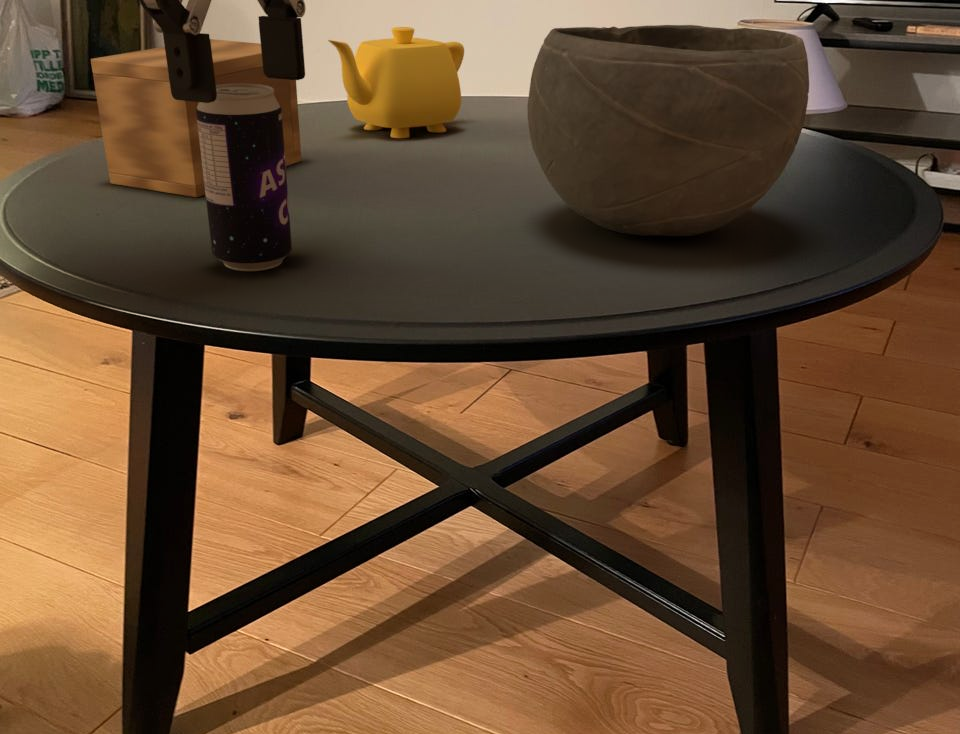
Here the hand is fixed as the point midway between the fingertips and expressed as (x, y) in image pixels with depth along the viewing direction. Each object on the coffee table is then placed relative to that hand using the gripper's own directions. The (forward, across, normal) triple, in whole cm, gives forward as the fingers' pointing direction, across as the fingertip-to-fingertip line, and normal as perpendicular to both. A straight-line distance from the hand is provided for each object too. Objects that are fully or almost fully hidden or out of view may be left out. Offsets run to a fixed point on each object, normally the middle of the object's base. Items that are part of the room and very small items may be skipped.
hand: (242, 88), depth 69 cm
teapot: (+12, -46, -14) cm, 50 cm away
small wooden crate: (+12, -20, -20) cm, 31 cm away
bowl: (+13, -23, +22) cm, 34 cm away
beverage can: (+12, 0, 0) cm, 12 cm away
